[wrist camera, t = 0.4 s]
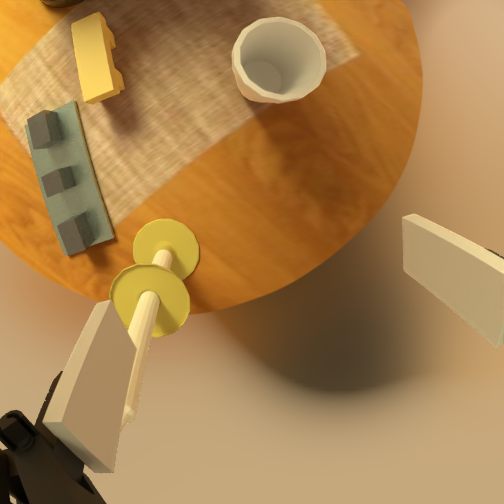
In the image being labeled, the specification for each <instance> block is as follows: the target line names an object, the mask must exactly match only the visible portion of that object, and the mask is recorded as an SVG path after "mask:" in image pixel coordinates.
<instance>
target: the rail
mask: <svg viewBox="0 0 504 504" xmlns="http://www.w3.org/2000/svg"><path fill="white" fill-rule="evenodd" d="M27 122H28V125H26V126H25V129H26V133H27V138H28V142H29V147H30V151H31V155H32V159H33V163H34V166H35V170H36V174H37V177H38V181H39V184H40V188H41V191H42V194H43V197H44V200H45V203H46V207H47V210H48V212H49V215H50V218H51V221H52V224H53V227H54V229H55V232H56V235H57V237H58V240H59V243H60V245H61V248H62V250H63V253H64V255H67V254H68V256H70V255H73V254H76V253H78V252H81V251H84V250H86V249H87V248H88V247H89V246H92V245H95V244H98V243H101V242H104V241H106V240H109V239H112V238H114V237H115V234H114V231H113V228H112V225H111V222H110V220H109V217H108V214H107V211H106V208H105V205H104V202H103V199H102V196H101V193H100V190H99V186H98V183H97V180H96V177H95V173H94V170H93V166H92V163H91V159H90V156H89V152H88V149H87V145H86V141H85V137H84V133H83V129H82V125H81V121H80V117H79V112H78V108H77V103H76V101H74V100H73V101H71V102H69V103H67V104H65V105H63V106H61V107H59V108H57V109H55V110H53V111H47V110H43V111H41V112H39V113H38V114H36V115H34V116H32V117H31V118H29V119H27Z"/></svg>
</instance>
